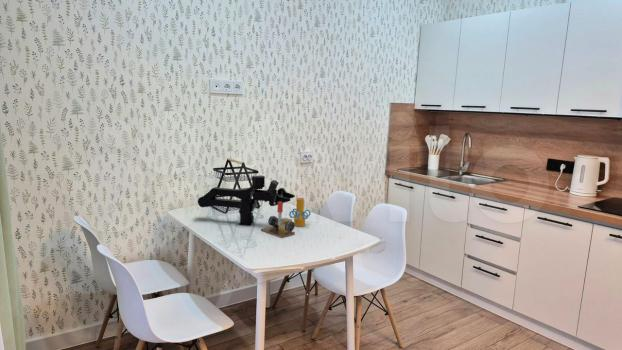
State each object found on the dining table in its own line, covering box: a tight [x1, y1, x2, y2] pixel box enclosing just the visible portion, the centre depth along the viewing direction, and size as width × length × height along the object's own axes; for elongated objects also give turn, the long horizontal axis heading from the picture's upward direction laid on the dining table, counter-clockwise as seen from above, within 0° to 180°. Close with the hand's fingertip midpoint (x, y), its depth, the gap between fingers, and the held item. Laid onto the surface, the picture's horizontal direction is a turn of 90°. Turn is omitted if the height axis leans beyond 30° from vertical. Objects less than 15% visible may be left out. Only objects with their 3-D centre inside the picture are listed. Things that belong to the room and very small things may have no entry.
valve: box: [260, 215, 296, 239], centre depth 221 cm, size 16×9×7 cm, turn 48°
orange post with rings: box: [288, 197, 311, 228], centre depth 235 cm, size 12×10×15 cm
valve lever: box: [277, 201, 284, 226], centre depth 217 cm, size 2×2×12 cm
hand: (292, 198), depth 227 cm, fingers open, 9 cm apart
